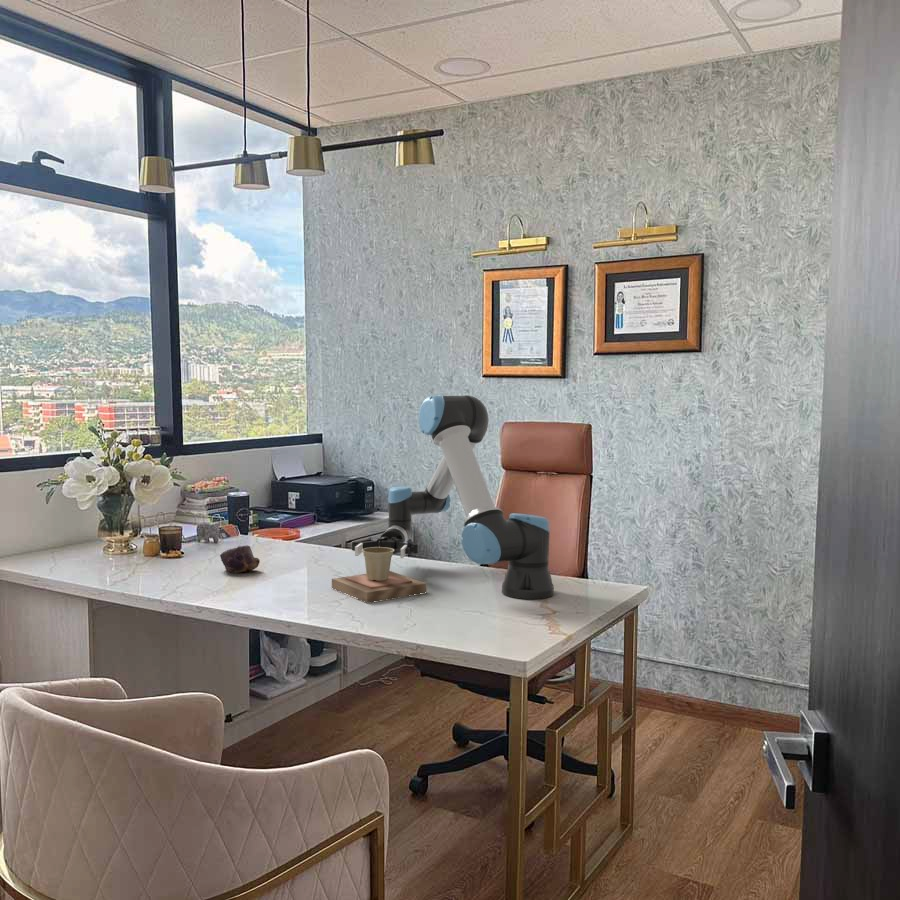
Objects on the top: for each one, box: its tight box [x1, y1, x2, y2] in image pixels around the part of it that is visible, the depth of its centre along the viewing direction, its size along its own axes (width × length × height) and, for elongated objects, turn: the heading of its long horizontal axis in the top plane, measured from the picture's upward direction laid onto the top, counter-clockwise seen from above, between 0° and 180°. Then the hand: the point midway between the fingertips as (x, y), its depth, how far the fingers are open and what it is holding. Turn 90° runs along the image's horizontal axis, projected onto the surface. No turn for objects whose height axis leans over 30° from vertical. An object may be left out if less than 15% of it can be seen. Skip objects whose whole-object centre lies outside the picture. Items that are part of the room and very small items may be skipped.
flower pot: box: [362, 547, 394, 581], centre depth 244 cm, size 9×9×9 cm
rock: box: [219, 545, 261, 574], centre depth 267 cm, size 12×9×10 cm
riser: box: [331, 570, 427, 603], centre depth 245 cm, size 20×20×4 cm
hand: (378, 552), depth 245 cm, fingers open, 13 cm apart
